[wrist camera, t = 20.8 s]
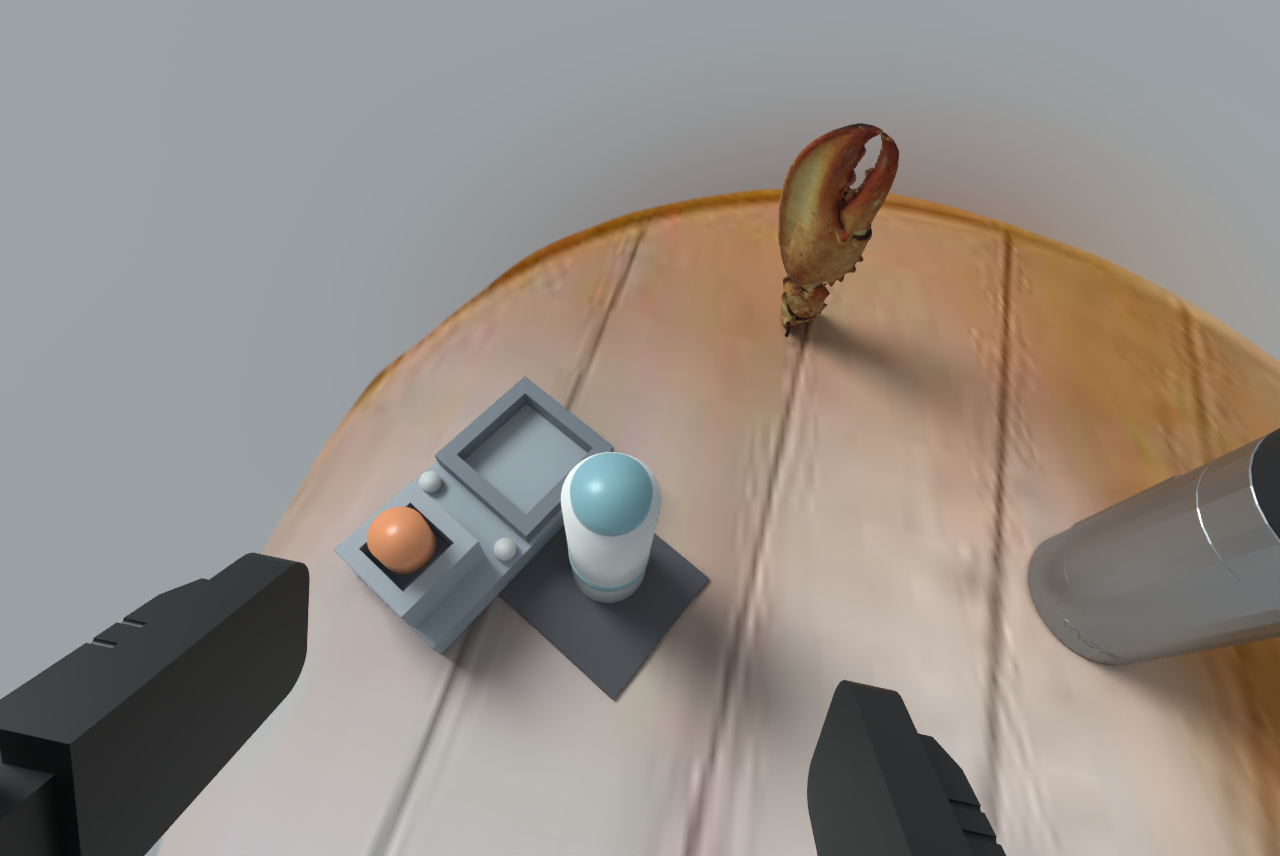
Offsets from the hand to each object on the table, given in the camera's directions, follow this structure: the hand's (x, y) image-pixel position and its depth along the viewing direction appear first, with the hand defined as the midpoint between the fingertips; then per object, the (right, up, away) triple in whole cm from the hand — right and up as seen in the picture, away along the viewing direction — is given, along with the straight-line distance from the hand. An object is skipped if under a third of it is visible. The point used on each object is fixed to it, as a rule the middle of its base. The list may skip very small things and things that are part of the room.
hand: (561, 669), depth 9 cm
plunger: (-12, -3, +28) cm, 31 cm away
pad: (-1, -7, +33) cm, 34 cm away
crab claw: (+13, +13, +45) cm, 49 cm away
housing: (-9, -2, +35) cm, 36 cm away
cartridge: (-1, -6, +34) cm, 34 cm away
